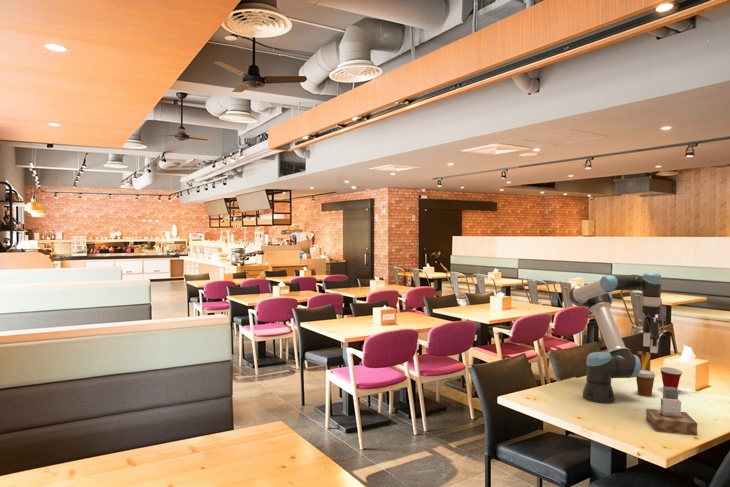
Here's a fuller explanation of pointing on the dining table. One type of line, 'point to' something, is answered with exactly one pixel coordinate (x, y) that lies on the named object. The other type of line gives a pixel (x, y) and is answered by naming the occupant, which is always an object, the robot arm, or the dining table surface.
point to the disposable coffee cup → (645, 382)
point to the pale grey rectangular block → (670, 408)
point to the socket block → (671, 422)
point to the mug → (643, 359)
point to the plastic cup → (670, 376)
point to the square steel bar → (670, 393)
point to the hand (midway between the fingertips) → (650, 349)
